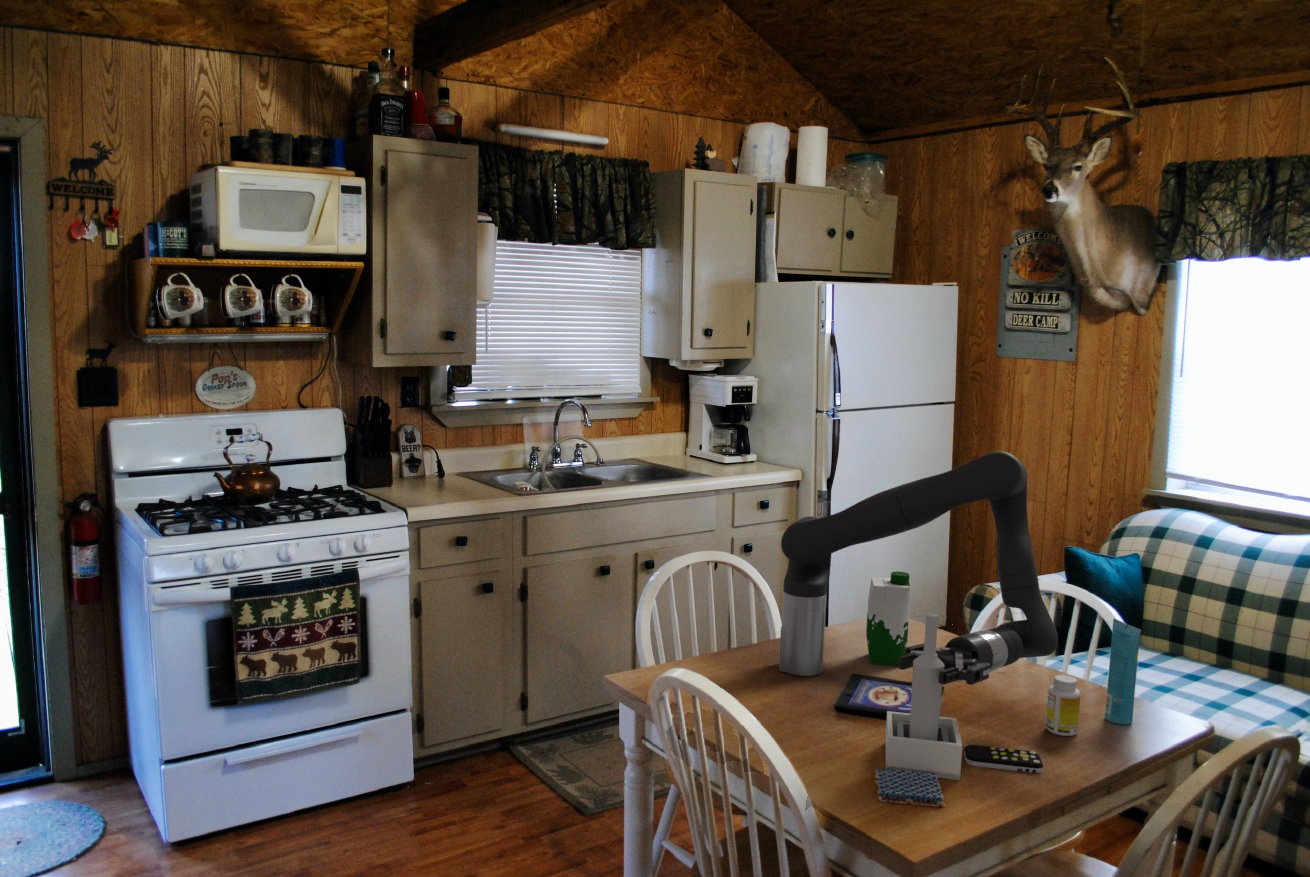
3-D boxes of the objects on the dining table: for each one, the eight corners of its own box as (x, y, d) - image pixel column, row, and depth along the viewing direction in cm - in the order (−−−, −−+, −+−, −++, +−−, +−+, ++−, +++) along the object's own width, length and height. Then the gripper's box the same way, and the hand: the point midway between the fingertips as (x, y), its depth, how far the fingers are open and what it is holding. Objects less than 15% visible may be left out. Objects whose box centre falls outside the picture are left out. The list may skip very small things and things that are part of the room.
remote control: (962, 752, 180) (963, 741, 180) (1038, 760, 177) (1039, 750, 177) (966, 767, 174) (966, 756, 174) (1044, 776, 171) (1045, 764, 171)
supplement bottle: (1083, 732, 189) (1087, 679, 188) (1067, 739, 186) (1072, 686, 185) (1055, 722, 194) (1059, 671, 193) (1039, 729, 190) (1043, 677, 189)
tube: (1142, 725, 193) (1151, 628, 191) (1123, 728, 192) (1131, 630, 190) (1113, 711, 200) (1121, 617, 198) (1093, 714, 199) (1101, 619, 196)
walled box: (885, 771, 170) (887, 737, 170) (885, 742, 182) (887, 710, 181) (959, 780, 168) (962, 745, 167) (954, 750, 180) (956, 718, 179)
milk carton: (908, 667, 223) (913, 579, 220) (866, 664, 224) (871, 576, 222) (903, 655, 231) (909, 569, 229) (863, 652, 232) (868, 567, 230)
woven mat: (936, 781, 168) (937, 769, 168) (946, 811, 158) (946, 799, 158) (872, 776, 170) (873, 764, 169) (878, 805, 159) (878, 793, 159)
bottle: (938, 751, 177) (948, 612, 173) (936, 763, 172) (947, 621, 169) (907, 746, 178) (917, 608, 175) (905, 758, 173) (915, 617, 170)
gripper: (944, 623, 187) (887, 638, 177) (1013, 644, 176) (956, 661, 166) (942, 662, 188) (885, 679, 178) (1010, 685, 177) (953, 705, 167)
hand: (919, 670), depth 172 cm, fingers open, 8 cm apart
